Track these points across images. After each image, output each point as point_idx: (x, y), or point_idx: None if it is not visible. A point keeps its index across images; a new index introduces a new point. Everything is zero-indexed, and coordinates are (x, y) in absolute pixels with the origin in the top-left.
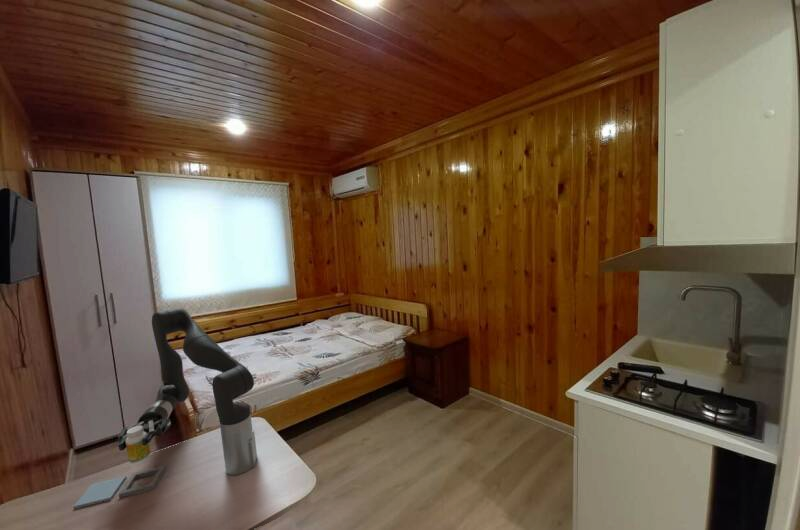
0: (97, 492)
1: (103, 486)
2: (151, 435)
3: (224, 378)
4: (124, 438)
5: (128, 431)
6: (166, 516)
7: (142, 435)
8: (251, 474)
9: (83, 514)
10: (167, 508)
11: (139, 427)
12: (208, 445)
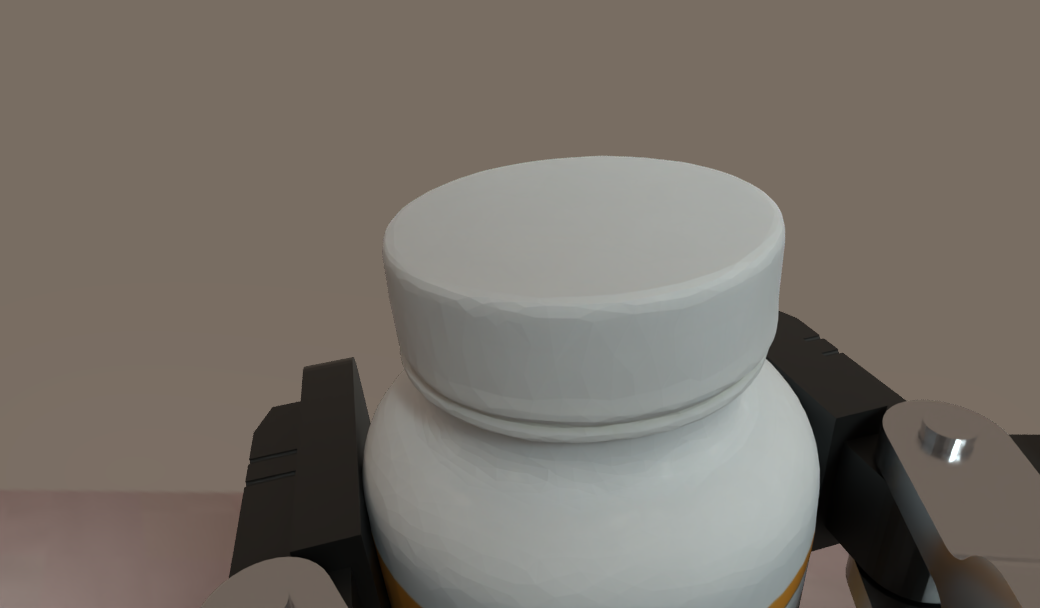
0: None
1: None
2: (245, 523)
3: None
4: (852, 378)
5: (681, 174)
6: (203, 528)
7: (405, 386)
8: None
9: (822, 555)
10: (210, 581)
11: (494, 250)
12: None
